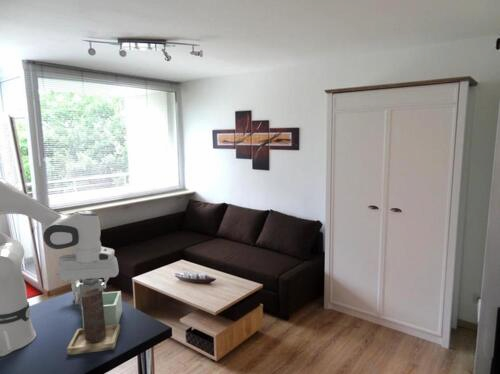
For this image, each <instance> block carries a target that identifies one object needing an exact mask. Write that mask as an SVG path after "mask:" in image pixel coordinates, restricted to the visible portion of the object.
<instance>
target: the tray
mask: <svg viewBox="0 0 500 374" xmlns="http://www.w3.org/2000/svg"><path fill="white" fill-rule="evenodd" d="M105 328H106V337H105V338H104V339H102V340H100V341H96V342H88V341H86V340H85V331H84V328H83V327H82V328H77V329H76V331H75V333H74V335H73V336H72V339H71V340H70V342H69V344H68V346H67V349H66V353H67V356H69V355H71V356H72V355H77V354H78V355H79V354H87V353H94V352H95V353H96V352H103V351H111V350H115V349H116V344H117V342H118V337H119V334H120V332H121V324H120V323H118V324H117V325H108V326H105Z"/></svg>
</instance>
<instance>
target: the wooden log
mask: <svg viewBox="0 0 500 374" xmlns="http://www.w3.org/2000/svg"><path fill="white" fill-rule="evenodd" d="M82 307H83V318H84V331H85V340H86V341H88V342H96V341H100V340H102V339H104V338H105V337H106V328H105V318H104V307H103V296H102V289H101V288H95V289H88V290H86V291H85V292H84V293H83V294H82Z"/></svg>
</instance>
